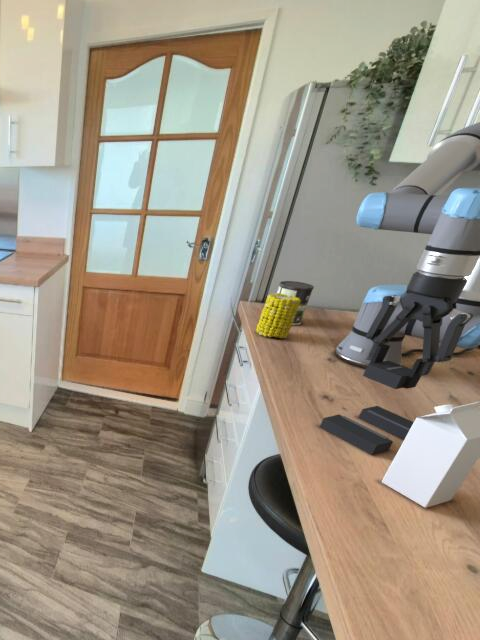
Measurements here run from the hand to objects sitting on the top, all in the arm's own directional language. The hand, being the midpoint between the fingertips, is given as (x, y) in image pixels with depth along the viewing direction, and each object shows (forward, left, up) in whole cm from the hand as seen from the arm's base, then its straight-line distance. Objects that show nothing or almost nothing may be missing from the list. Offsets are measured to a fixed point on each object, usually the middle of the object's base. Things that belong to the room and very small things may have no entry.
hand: (389, 379), depth 93 cm
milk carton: (+13, +17, -13) cm, 25 cm away
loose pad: (0, 0, 0) cm, 0 cm away
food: (-31, -51, -13) cm, 61 cm away
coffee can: (-49, -60, -13) cm, 78 cm away
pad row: (0, +2, -13) cm, 13 cm away
